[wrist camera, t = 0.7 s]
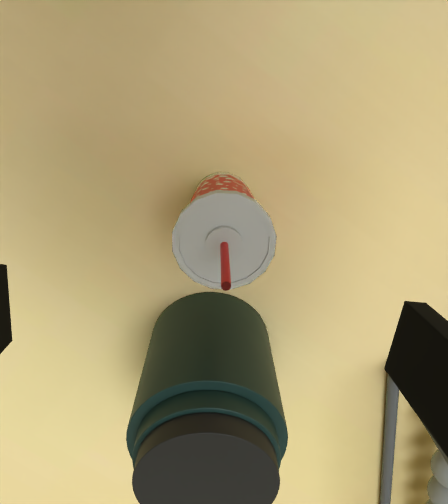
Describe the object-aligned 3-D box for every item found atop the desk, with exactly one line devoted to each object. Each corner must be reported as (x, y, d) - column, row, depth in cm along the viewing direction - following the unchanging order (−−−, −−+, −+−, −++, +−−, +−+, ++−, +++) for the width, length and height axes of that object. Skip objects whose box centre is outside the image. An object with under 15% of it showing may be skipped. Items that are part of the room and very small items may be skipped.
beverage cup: (264, 230, 31) (297, 331, 18) (191, 241, 31) (173, 347, 19) (255, 156, 29) (287, 213, 16) (177, 168, 29) (145, 234, 16)
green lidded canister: (179, 273, 33) (155, 395, 20) (289, 319, 35) (331, 455, 22) (135, 364, 37) (91, 514, 24) (236, 400, 39) (245, 555, 26)
